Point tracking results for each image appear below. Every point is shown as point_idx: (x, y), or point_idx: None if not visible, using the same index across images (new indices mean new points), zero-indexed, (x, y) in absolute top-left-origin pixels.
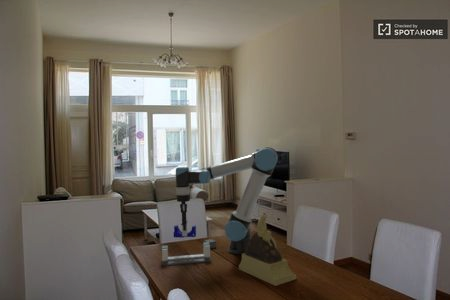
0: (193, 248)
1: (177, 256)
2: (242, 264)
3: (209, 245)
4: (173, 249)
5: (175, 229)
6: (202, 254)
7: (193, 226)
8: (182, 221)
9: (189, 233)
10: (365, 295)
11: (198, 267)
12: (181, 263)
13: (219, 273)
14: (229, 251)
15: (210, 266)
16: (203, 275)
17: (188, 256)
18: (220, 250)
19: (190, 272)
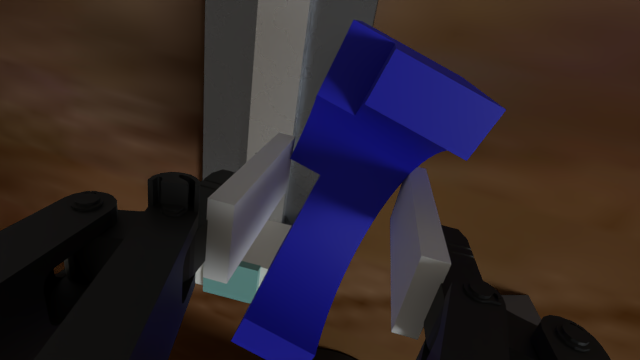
0: (533, 220)
1: (304, 39)
2: None
3: (197, 282)
4: (632, 66)
5: (381, 69)
6: (279, 214)
7: (240, 332)
8: (17, 230)
9: (290, 229)
10: None
11: (131, 131)
12: (208, 47)
13: (37, 195)
14: (321, 352)
15: (135, 193)
16: (14, 120)
17: (271, 120)
18: (381, 330)
19: (59, 66)
